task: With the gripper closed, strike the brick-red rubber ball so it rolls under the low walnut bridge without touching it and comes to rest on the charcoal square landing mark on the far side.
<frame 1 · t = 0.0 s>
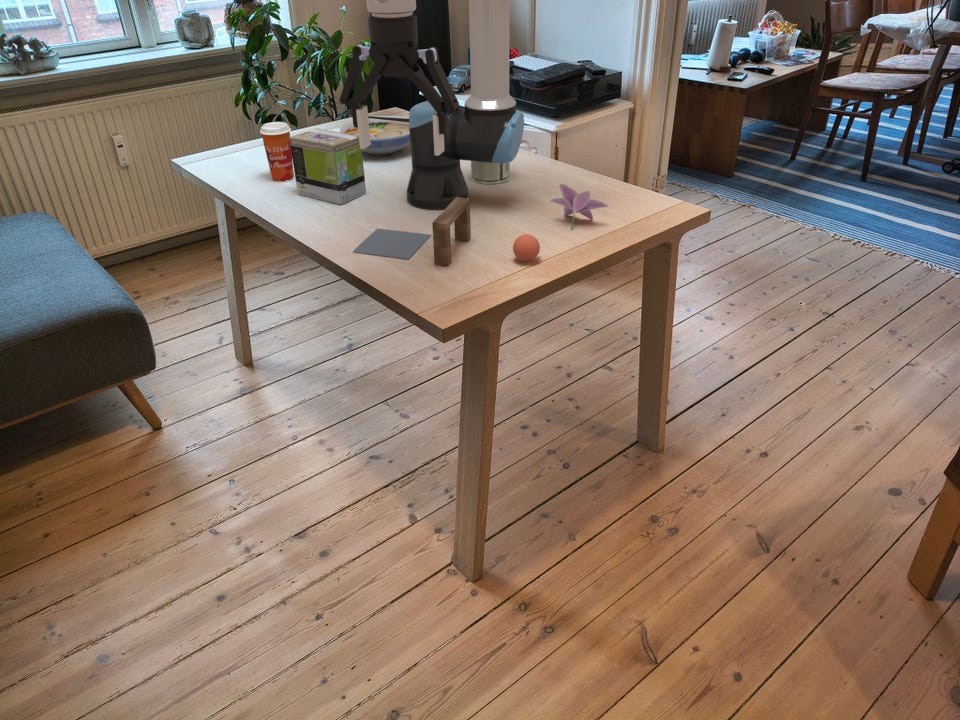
hand: (402, 150, 127), 28 cm above the table, tool pointing down, fingers open, 13 cm apart
ramen bowl: (381, 152, 218), on the table
tea box: (332, 195, 189), on the table
landing mark: (392, 243, 163), on the table
ball: (526, 247, 154), on the table
coffee can: (490, 178, 198), on the table
paper cup: (283, 179, 200), on the table
lily: (576, 224, 171), on the table
bridge: (453, 251, 159), on the table
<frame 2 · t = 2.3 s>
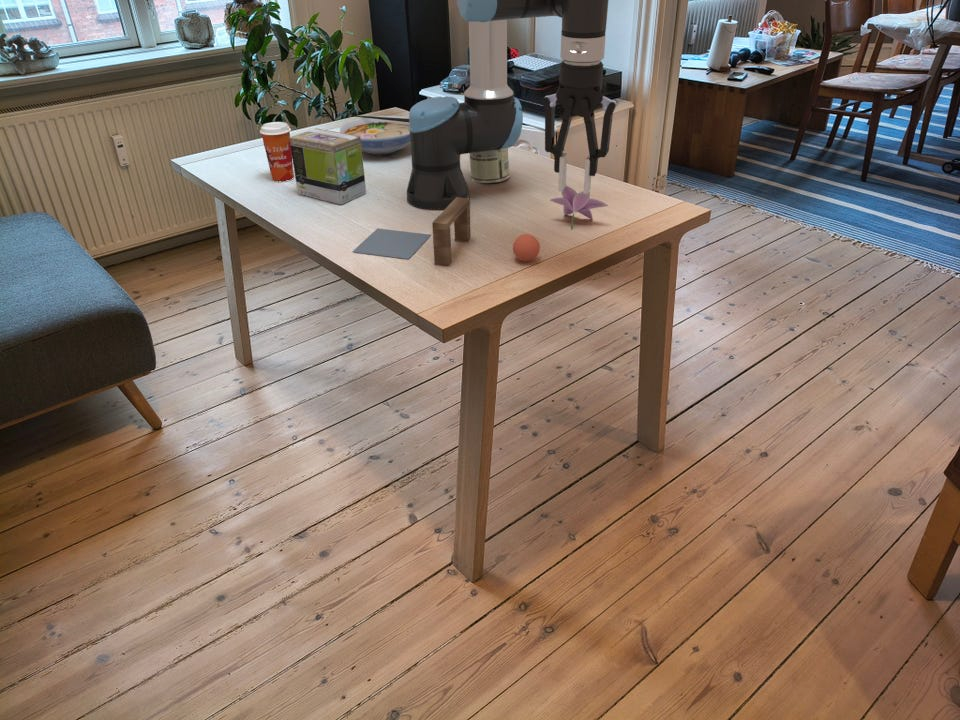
hand: (574, 189, 143), 16 cm above the table, tool pointing down, fingers open, 4 cm apart
coffee can: (490, 178, 198), on the table, touching arm
everything else where it was.
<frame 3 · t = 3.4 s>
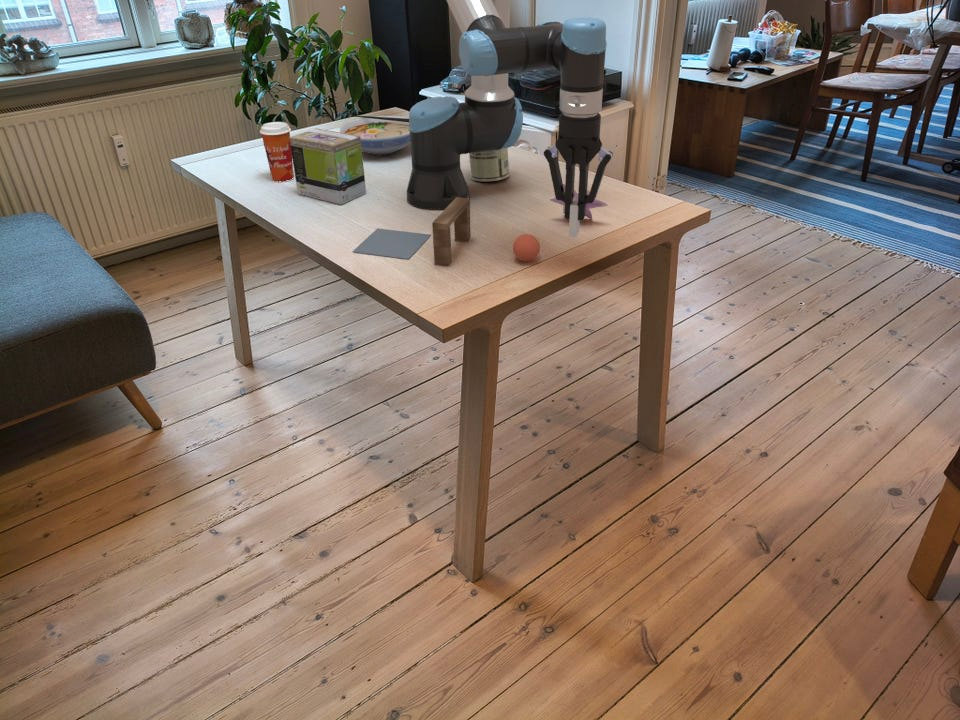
hand: (573, 234, 148), 7 cm above the table, tool pointing down, fingers closed
nothing on the table moved.
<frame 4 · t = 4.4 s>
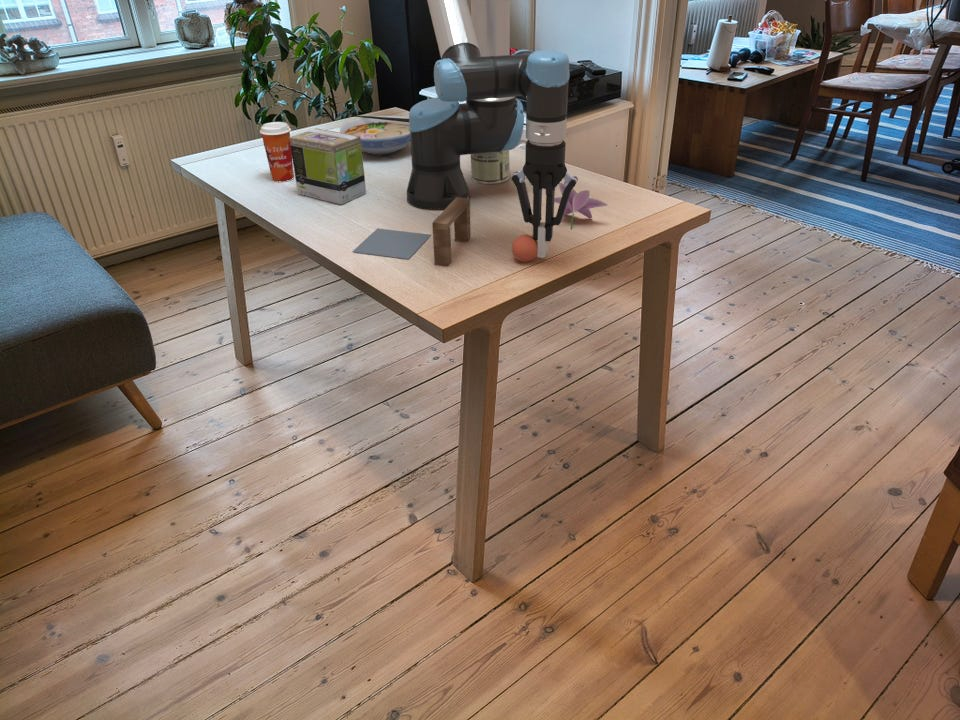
hand: (542, 254, 154), 1 cm above the table, tool pointing down, fingers closed
ball: (525, 248, 154), on the table, touching gripper
coffee can: (490, 178, 198), on the table
everything else where it was.
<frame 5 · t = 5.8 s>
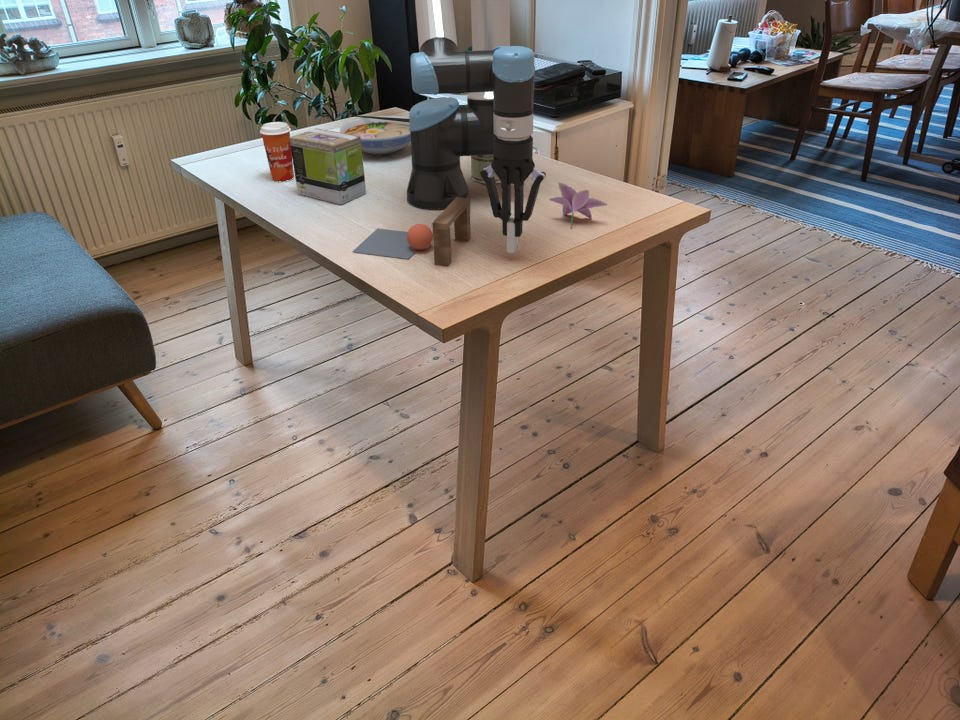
hand: (512, 249, 155), 2 cm above the table, tool pointing down, fingers closed
ball: (419, 236, 159), on the table
everything else where it was.
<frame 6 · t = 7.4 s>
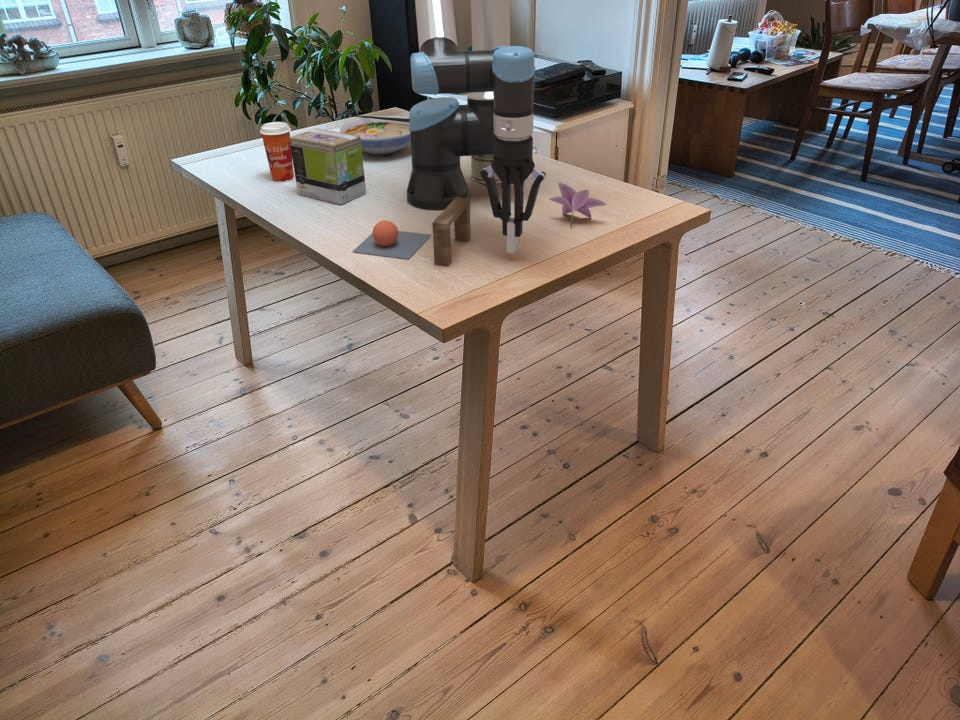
hand: (512, 249, 155), 2 cm above the table, tool pointing down, fingers closed
ball: (385, 233, 161), on the table
everything else where it was.
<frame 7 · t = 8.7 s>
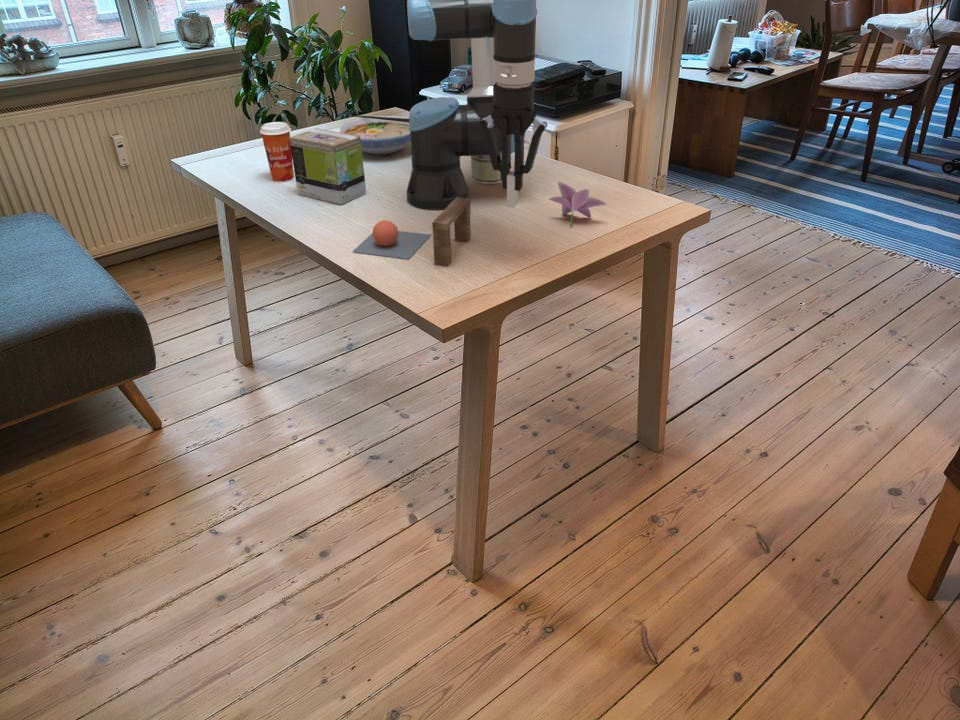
hand: (512, 204, 150), 12 cm above the table, tool pointing down, fingers closed
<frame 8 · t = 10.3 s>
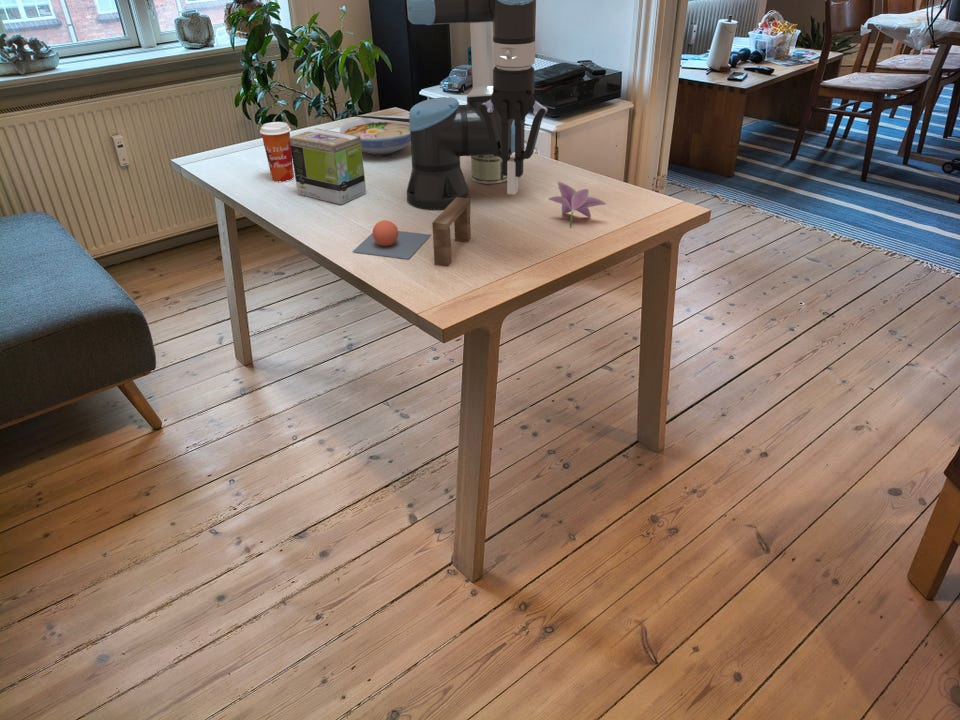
hand: (512, 191, 148), 14 cm above the table, tool pointing down, fingers closed
at the end: ball 1.4 cm from the landing mark (horizontally); ball never touched bridge; ball at rest at the end (0.0 cm/s) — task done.
